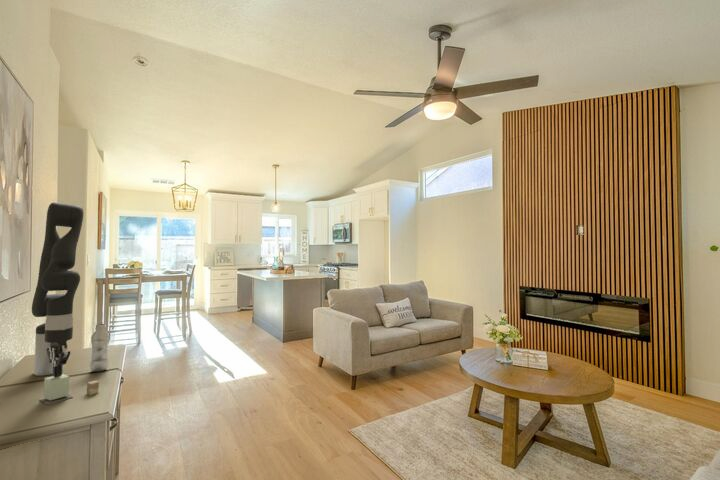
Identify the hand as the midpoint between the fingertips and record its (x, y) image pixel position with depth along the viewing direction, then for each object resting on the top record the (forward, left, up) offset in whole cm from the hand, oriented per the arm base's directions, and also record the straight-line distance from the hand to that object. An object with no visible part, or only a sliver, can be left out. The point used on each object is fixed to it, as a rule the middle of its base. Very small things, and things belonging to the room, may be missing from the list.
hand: (57, 376), depth 123 cm
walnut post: (0, 0, -8) cm, 8 cm away
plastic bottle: (-20, +22, -8) cm, 31 cm away
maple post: (+5, +9, -8) cm, 13 cm away
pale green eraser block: (0, 0, -7) cm, 7 cm away
